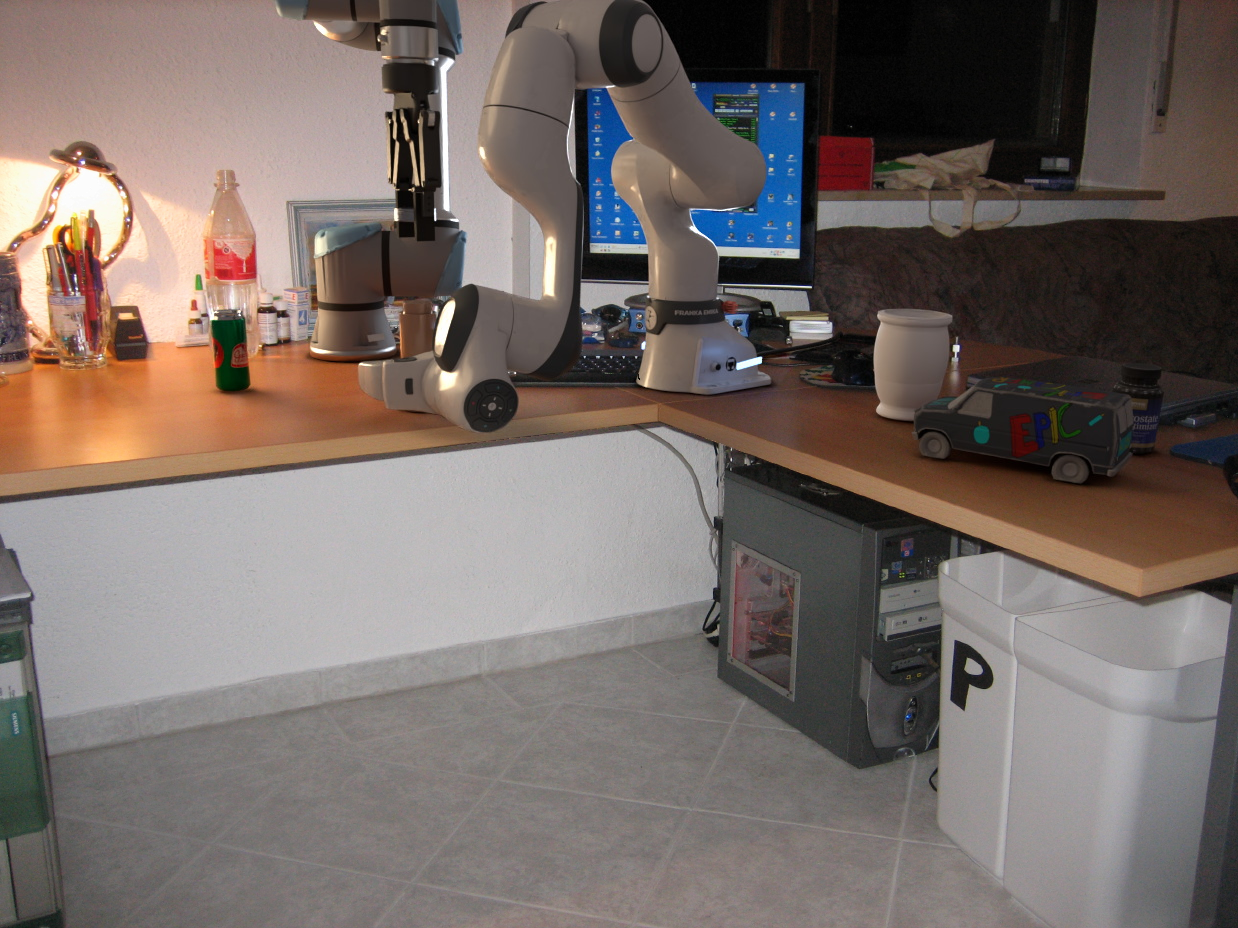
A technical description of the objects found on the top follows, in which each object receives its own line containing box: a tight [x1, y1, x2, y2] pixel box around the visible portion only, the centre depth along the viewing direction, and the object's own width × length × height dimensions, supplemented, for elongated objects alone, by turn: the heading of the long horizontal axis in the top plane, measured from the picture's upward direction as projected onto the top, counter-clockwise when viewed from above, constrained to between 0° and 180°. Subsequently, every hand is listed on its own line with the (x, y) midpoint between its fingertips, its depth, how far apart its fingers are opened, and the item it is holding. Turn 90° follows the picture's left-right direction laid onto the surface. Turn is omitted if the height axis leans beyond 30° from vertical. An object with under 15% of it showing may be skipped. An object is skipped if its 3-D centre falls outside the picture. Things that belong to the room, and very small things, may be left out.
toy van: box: [911, 376, 1135, 484], centre depth 132 cm, size 11×25×10 cm, turn 54°
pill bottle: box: [1111, 362, 1165, 455], centre depth 139 cm, size 6×6×11 cm
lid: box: [393, 206, 436, 222], centre depth 149 cm, size 6×6×2 cm
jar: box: [873, 308, 953, 422], centre depth 154 cm, size 11×10×15 cm
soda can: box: [209, 308, 251, 393], centre depth 163 cm, size 5×5×12 cm
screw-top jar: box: [398, 299, 438, 413], centre depth 154 cm, size 5×5×16 cm
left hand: (415, 238), depth 150 cm, fingers closed on lid, 6 cm apart
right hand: (417, 363), depth 155 cm, fingers closed on screw-top jar, 5 cm apart
